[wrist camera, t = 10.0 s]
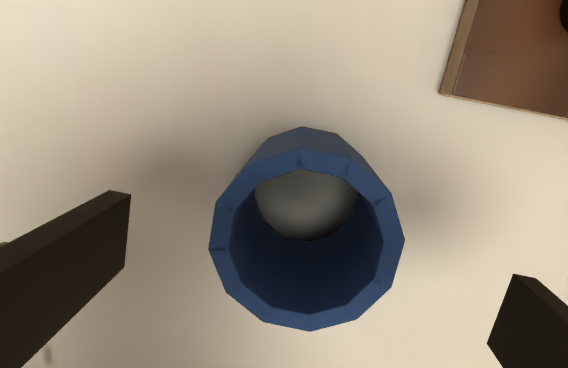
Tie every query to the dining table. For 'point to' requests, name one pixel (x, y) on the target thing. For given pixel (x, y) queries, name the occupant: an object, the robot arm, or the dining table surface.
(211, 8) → the dining table surface
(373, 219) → the sleeve
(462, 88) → the brown base with rod
